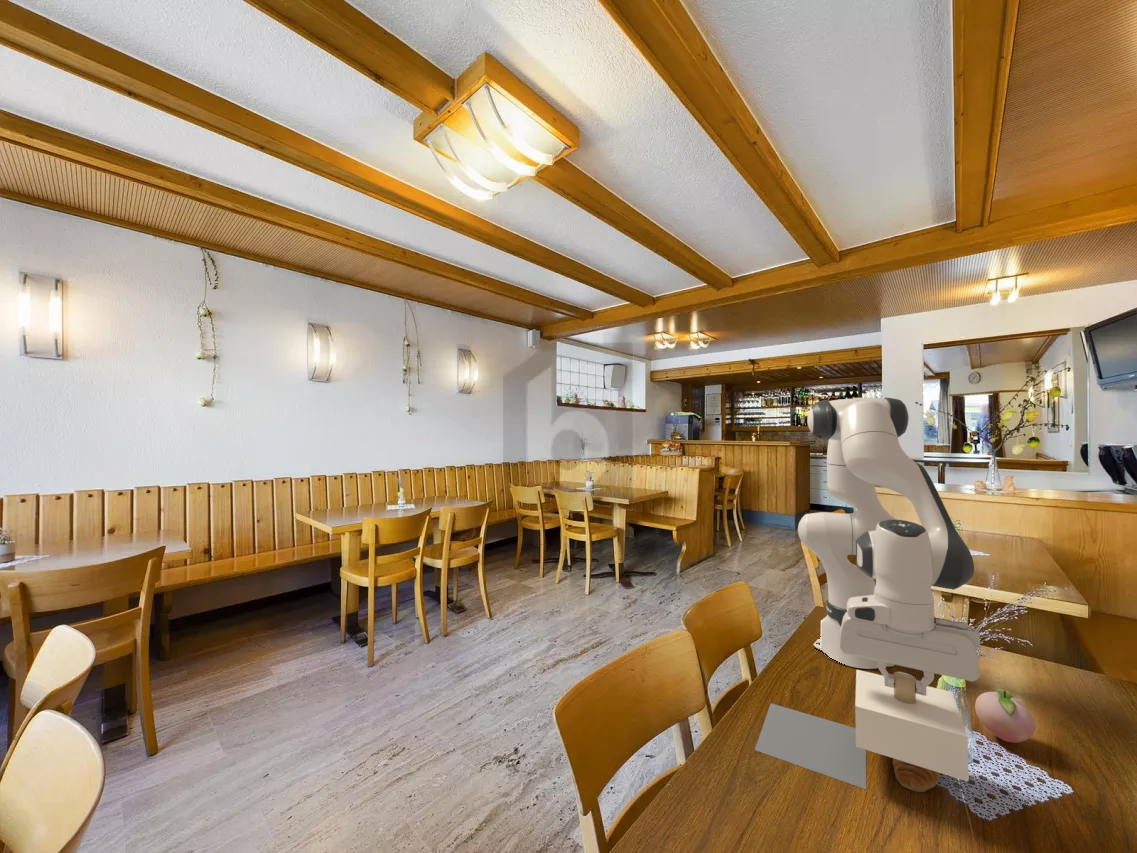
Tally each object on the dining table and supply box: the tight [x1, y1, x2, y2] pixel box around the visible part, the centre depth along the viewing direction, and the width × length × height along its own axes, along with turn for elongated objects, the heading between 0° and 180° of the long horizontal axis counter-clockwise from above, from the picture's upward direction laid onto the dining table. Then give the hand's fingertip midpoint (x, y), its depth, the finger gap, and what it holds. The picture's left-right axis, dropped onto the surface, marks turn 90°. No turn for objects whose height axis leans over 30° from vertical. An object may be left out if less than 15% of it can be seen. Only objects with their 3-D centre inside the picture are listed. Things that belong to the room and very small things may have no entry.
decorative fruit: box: [974, 688, 1036, 744], centre depth 90 cm, size 9×8×10 cm
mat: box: [754, 702, 867, 790], centre depth 90 cm, size 18×18×1 cm
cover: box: [854, 669, 970, 782], centre depth 82 cm, size 15×15×11 cm
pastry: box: [892, 758, 942, 793], centre depth 81 cm, size 9×7×4 cm
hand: (904, 689), depth 82 cm, fingers closed on cover, 3 cm apart
